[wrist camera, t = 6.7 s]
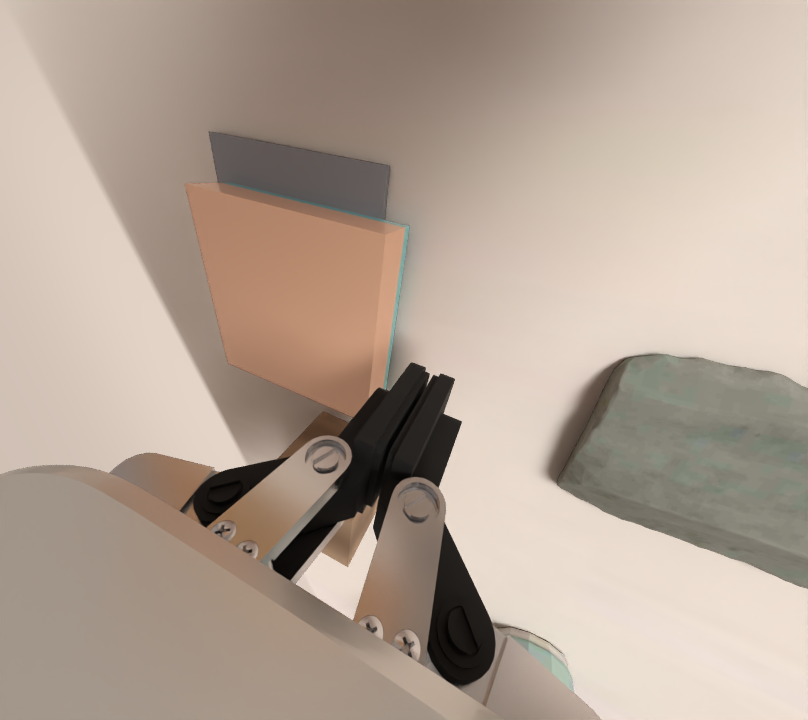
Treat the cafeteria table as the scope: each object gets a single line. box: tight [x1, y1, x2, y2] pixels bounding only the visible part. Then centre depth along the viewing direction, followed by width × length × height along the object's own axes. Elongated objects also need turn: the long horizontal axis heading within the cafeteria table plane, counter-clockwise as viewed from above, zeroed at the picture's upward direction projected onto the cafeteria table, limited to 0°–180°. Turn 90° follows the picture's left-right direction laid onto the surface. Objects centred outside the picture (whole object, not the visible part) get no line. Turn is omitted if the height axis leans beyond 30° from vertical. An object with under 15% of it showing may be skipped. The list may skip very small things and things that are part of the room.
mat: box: [209, 132, 390, 220], centre depth 17 cm, size 14×10×1 cm
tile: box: [185, 183, 410, 417], centre depth 16 cm, size 10×2×10 cm
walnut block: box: [278, 412, 379, 567], centre depth 21 cm, size 6×6×6 cm
